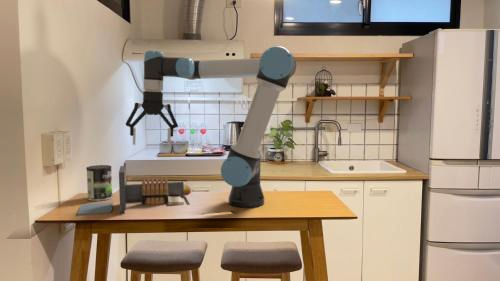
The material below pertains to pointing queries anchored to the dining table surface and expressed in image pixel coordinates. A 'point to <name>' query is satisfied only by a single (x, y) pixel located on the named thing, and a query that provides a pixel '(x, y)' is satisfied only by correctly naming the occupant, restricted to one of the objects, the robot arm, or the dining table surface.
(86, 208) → the mat
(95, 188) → the coffee can
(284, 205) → the dining table surface
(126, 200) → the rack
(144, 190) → the ammunition clip
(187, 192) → the fruit
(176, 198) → the offcut upper
